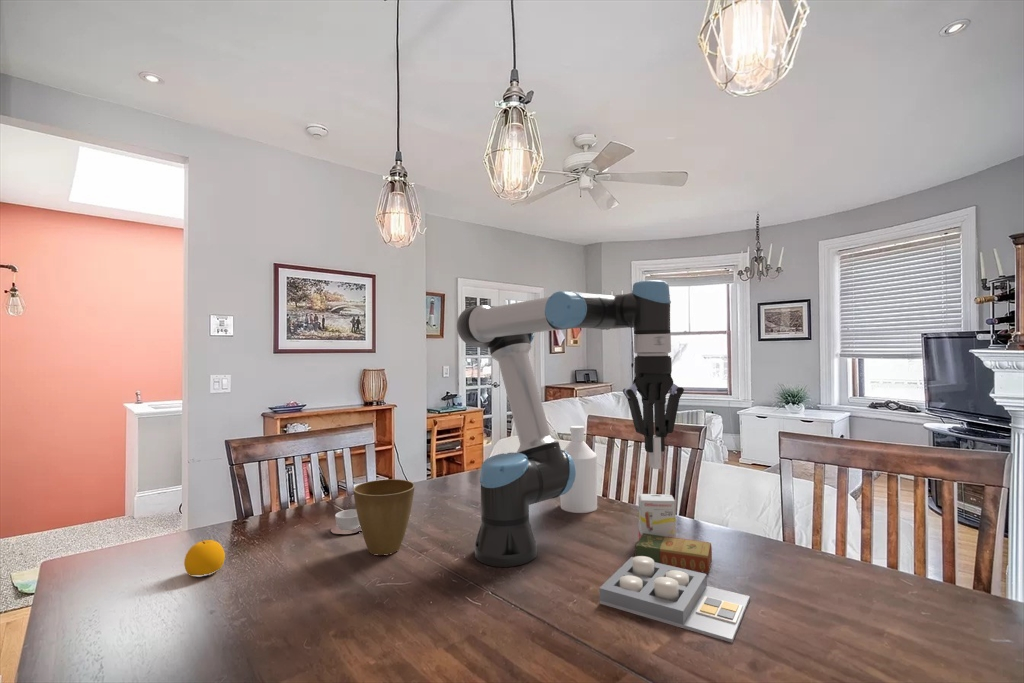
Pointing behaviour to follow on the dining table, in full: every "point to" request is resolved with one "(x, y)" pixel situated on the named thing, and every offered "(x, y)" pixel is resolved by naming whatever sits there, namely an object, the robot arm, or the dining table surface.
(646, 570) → the button
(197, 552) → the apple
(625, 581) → the button
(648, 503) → the ink box
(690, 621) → the keypad board
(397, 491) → the plant pot
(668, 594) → the button
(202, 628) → the dining table surface
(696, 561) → the carton
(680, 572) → the button
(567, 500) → the bottle
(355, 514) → the teacup
